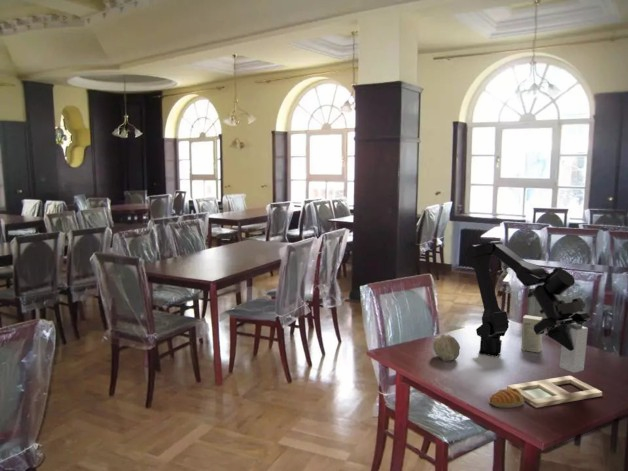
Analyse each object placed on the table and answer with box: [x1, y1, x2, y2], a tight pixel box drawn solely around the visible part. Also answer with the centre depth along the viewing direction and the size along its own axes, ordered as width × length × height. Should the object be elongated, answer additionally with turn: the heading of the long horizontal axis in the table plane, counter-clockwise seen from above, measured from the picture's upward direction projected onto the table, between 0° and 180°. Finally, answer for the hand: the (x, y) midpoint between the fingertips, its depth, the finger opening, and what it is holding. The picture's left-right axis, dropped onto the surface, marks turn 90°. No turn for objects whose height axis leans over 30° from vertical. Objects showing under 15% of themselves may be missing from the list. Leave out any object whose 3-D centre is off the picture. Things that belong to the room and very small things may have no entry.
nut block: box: [559, 323, 589, 373], centre depth 152 cm, size 5×5×14 cm
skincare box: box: [520, 314, 544, 354], centre depth 186 cm, size 6×4×12 cm
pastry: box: [488, 388, 525, 409], centre depth 145 cm, size 9×7×4 cm
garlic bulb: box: [432, 333, 461, 362], centre depth 177 cm, size 9×8×10 cm
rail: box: [506, 375, 603, 408], centre depth 152 cm, size 24×12×1 cm, turn 109°
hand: (577, 348), depth 151 cm, fingers closed on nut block, 5 cm apart
